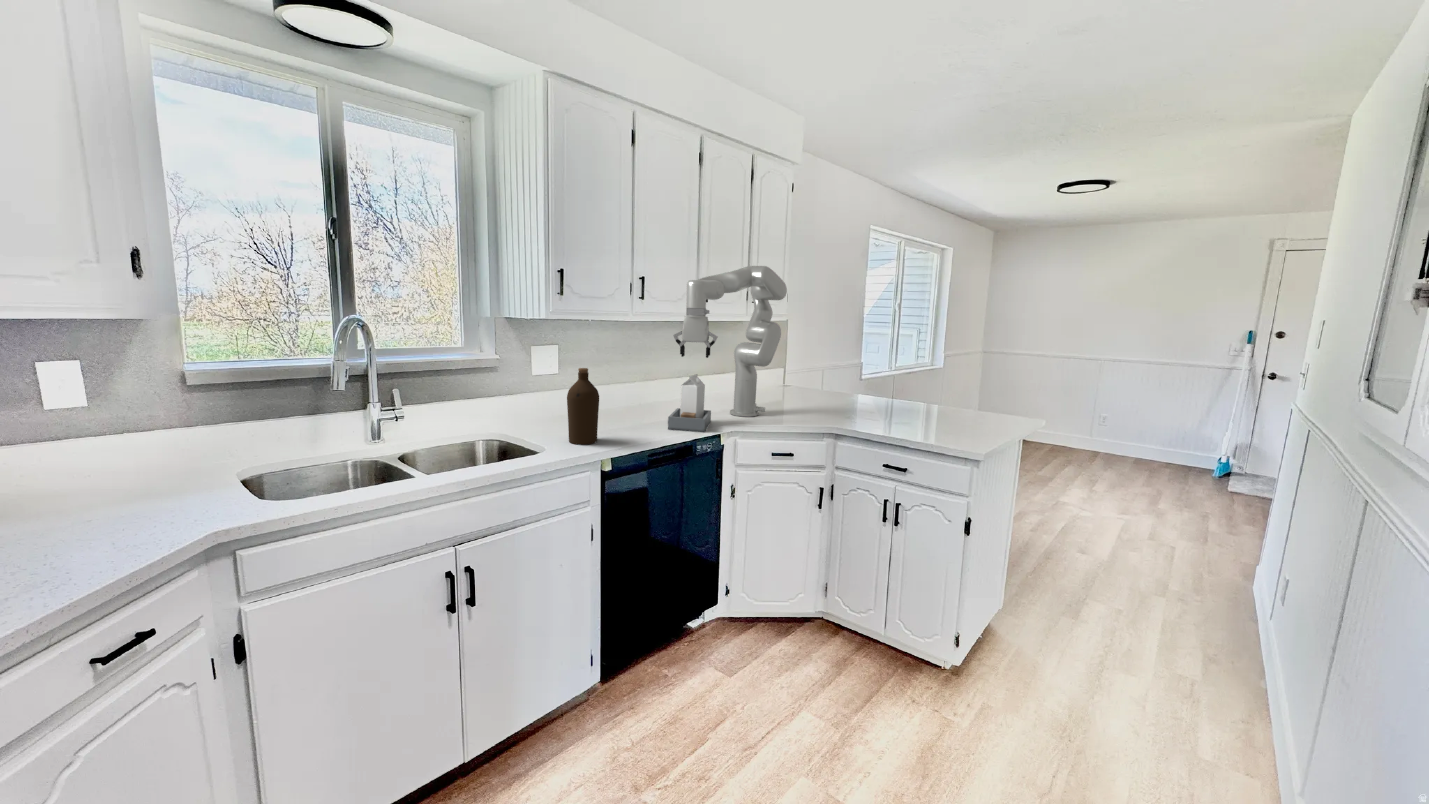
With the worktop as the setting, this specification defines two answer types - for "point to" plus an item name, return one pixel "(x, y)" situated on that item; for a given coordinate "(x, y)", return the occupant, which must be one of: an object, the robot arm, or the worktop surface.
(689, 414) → the walnut cube
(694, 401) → the milk carton
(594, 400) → the olive oil
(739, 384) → the robot arm
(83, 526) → the worktop surface
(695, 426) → the tote
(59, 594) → the worktop surface
